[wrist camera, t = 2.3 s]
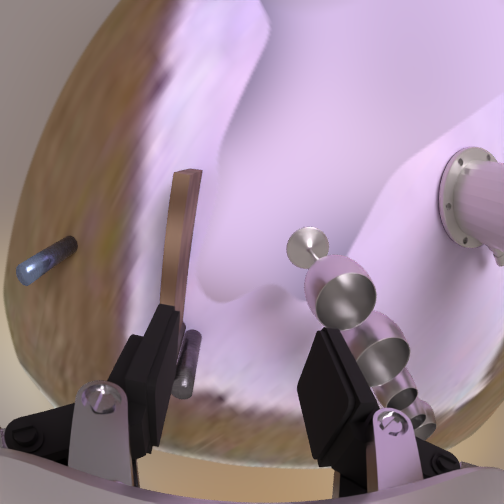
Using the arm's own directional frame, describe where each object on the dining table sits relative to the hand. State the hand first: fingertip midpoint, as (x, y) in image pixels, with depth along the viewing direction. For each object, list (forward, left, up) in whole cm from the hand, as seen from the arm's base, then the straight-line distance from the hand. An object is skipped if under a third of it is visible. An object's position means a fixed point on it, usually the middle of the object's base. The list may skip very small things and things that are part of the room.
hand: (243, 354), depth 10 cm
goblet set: (-18, -1, -20) cm, 27 cm away
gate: (+2, +6, -19) cm, 20 cm away
